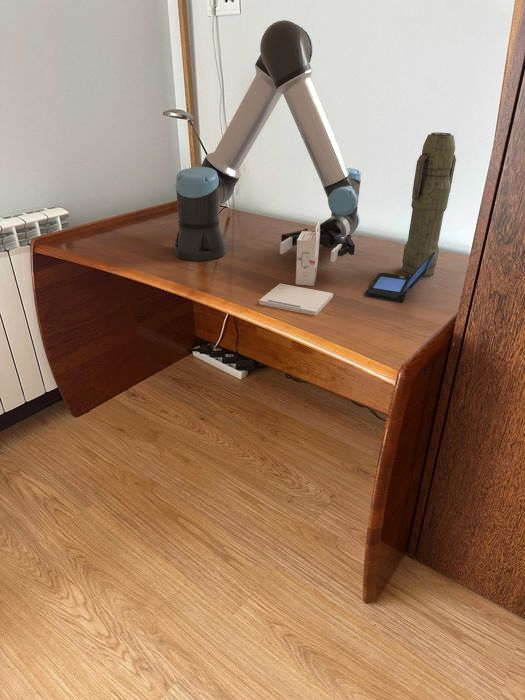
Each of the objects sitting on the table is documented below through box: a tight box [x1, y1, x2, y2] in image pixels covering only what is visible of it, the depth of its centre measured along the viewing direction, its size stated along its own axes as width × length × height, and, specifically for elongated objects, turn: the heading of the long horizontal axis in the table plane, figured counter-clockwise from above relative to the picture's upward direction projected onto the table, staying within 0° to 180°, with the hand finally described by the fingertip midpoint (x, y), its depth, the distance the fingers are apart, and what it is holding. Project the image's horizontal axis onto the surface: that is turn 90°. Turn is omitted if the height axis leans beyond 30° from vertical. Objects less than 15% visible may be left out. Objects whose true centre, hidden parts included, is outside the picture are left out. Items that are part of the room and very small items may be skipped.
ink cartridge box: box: [295, 220, 321, 287], centre depth 128 cm, size 9×5×15 cm, turn 168°
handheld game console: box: [365, 252, 435, 303], centre depth 124 cm, size 16×13×9 cm
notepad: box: [258, 283, 334, 316], centre depth 119 cm, size 14×12×1 cm
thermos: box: [401, 132, 457, 278], centre depth 130 cm, size 9×12×35 cm
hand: (306, 252), depth 126 cm, fingers open, 13 cm apart
